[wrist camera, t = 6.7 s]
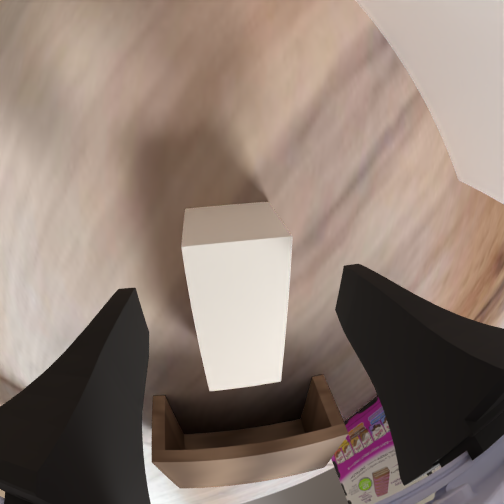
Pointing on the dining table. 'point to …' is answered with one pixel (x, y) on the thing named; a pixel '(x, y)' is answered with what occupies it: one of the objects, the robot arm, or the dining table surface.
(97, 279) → the dining table surface
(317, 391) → the cubby
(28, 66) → the dining table surface
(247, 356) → the block
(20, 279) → the dining table surface
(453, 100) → the white tapered slotted holder
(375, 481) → the candy bar box
